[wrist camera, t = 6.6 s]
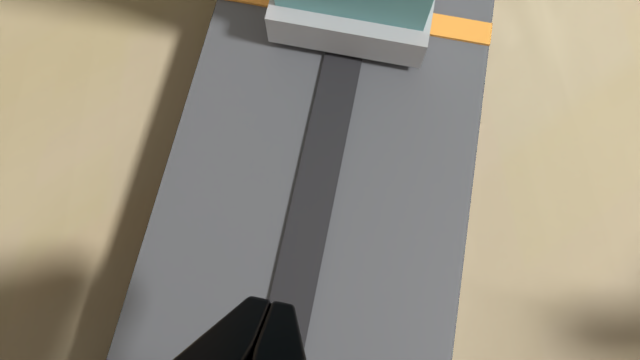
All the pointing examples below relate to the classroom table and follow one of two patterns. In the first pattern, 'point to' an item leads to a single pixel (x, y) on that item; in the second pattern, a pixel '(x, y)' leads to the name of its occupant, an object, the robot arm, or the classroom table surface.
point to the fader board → (316, 192)
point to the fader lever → (354, 27)
